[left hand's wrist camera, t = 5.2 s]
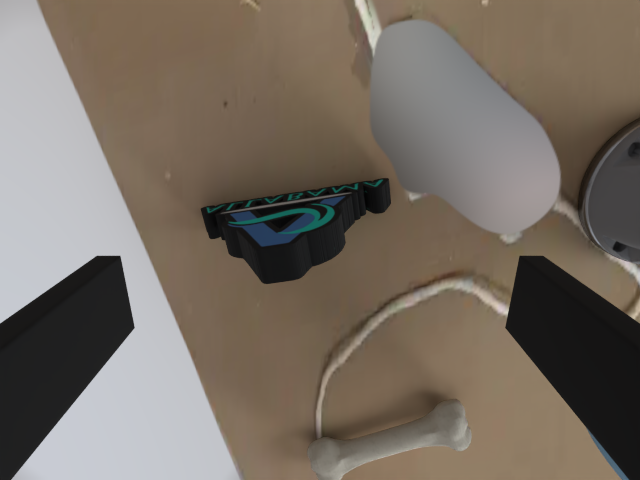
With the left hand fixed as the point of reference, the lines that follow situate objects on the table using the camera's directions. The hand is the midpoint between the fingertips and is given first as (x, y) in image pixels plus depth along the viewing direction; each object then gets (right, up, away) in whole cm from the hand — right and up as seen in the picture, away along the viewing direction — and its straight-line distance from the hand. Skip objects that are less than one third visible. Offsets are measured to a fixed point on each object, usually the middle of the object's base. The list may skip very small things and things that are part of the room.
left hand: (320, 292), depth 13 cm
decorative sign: (-2, +5, +26) cm, 27 cm away
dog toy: (+8, -22, +36) cm, 43 cm away
